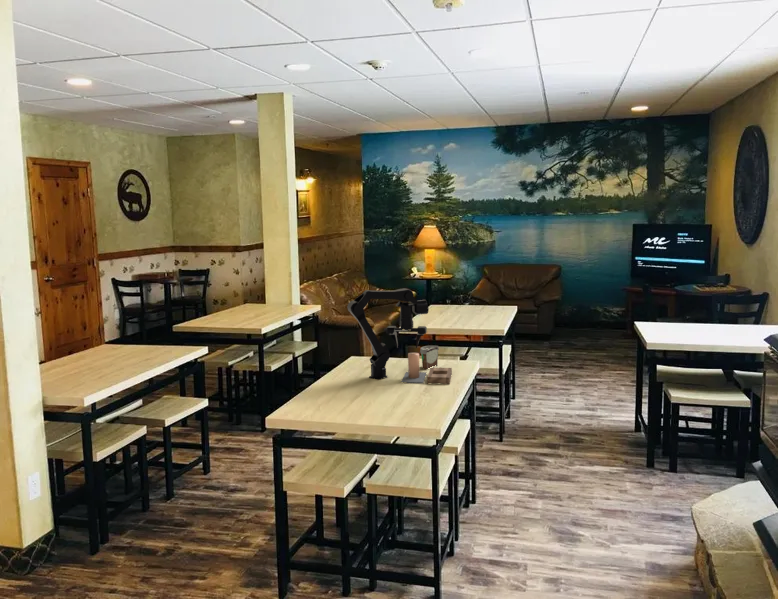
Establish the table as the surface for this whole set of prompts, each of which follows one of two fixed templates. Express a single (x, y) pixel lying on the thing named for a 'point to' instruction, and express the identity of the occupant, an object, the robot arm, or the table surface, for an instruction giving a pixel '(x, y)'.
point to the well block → (439, 375)
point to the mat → (414, 380)
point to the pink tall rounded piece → (413, 365)
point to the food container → (429, 356)
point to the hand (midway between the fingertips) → (406, 347)
